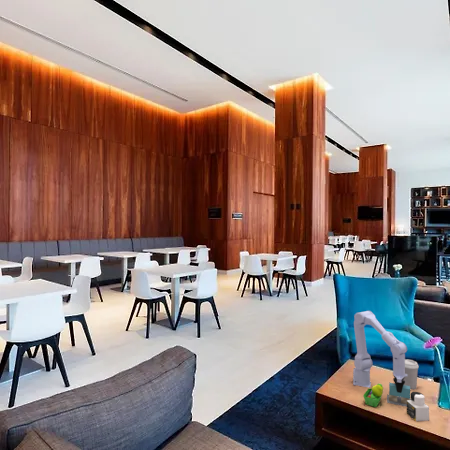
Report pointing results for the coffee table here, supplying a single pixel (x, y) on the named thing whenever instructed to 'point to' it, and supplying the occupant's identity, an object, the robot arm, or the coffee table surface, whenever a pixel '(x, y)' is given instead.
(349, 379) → the coffee table surface
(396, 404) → the build plate
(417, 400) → the medicine bottle
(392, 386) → the lintel
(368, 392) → the fruit basket
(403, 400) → the pillar far
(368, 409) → the coffee table surface
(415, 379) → the coffee cup
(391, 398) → the pillar near arm
